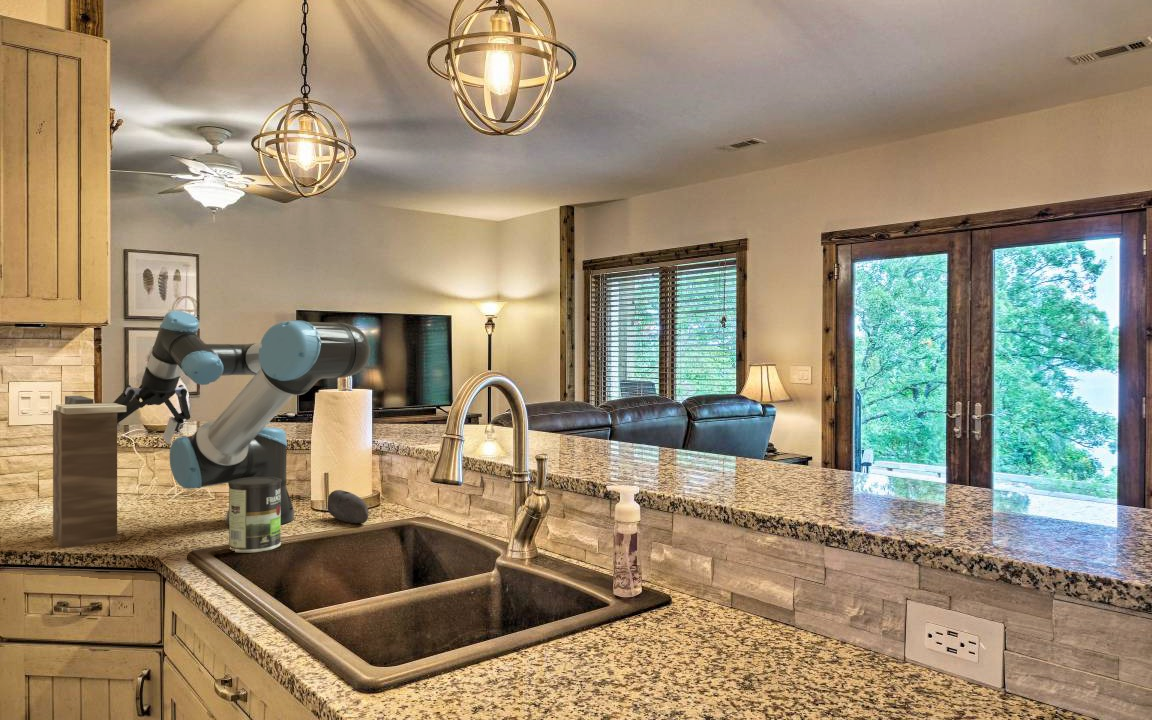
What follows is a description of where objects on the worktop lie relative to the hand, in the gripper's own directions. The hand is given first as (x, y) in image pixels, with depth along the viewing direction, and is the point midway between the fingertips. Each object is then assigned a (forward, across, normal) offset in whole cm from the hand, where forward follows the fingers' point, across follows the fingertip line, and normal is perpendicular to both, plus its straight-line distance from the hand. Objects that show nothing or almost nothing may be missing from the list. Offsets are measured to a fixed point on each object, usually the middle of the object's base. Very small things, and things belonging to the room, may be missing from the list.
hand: (138, 442), depth 187 cm
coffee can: (-11, -1, +52) cm, 53 cm away
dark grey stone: (-10, -28, +49) cm, 57 cm away
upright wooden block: (+8, +17, +22) cm, 29 cm away
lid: (-15, +18, +6) cm, 24 cm away
